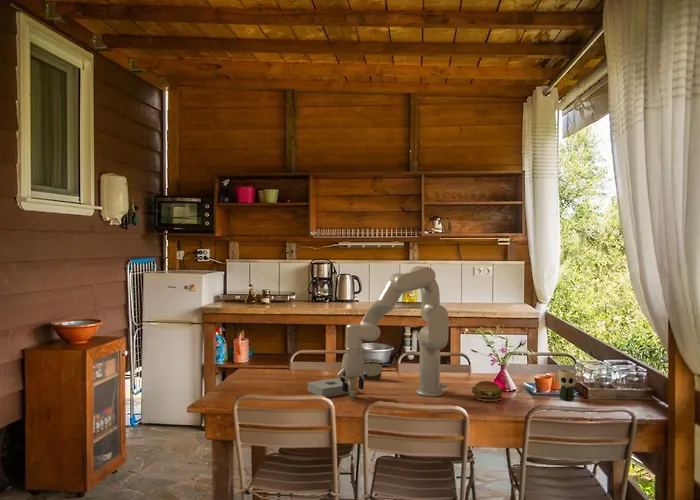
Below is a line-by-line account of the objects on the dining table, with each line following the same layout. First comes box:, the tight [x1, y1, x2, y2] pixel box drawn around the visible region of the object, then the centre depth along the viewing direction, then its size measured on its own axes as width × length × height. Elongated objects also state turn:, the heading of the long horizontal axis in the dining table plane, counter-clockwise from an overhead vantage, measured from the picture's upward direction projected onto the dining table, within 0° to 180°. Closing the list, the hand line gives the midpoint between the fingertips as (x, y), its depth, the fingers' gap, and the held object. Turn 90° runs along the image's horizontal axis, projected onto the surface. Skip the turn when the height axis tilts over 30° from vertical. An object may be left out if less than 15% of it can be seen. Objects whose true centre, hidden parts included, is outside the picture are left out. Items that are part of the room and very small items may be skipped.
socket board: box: [307, 377, 349, 398], centre depth 258 cm, size 18×14×4 cm
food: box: [471, 380, 505, 402], centre depth 248 cm, size 14×14×8 cm
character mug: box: [553, 368, 581, 401], centre depth 249 cm, size 11×7×13 cm, turn 72°
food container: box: [364, 358, 384, 382], centre depth 284 cm, size 12×6×10 cm, turn 84°
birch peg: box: [348, 376, 358, 400], centre depth 248 cm, size 4×4×10 cm
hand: (353, 389), depth 248 cm, fingers open, 7 cm apart
